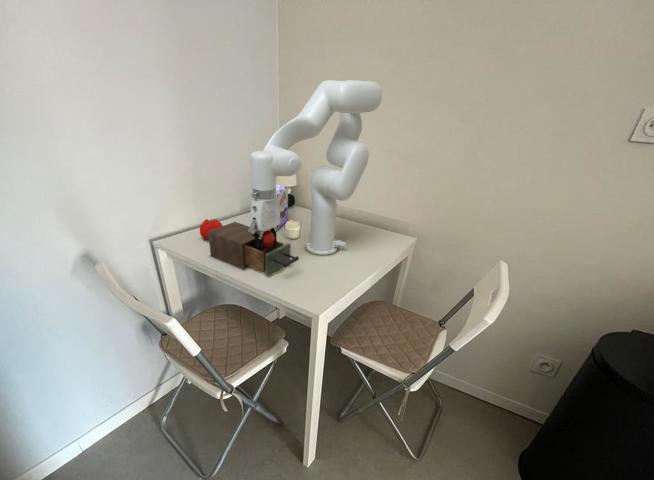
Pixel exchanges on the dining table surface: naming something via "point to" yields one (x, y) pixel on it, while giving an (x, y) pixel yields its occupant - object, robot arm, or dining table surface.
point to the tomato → (209, 227)
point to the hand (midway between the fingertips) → (266, 245)
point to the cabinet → (230, 243)
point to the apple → (268, 238)
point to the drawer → (268, 257)
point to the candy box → (282, 202)
